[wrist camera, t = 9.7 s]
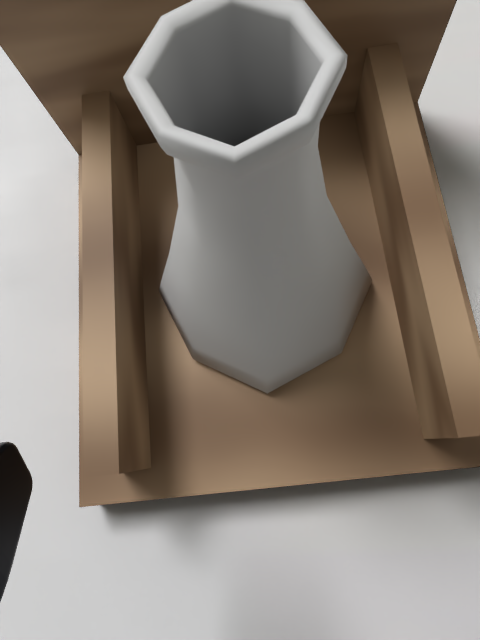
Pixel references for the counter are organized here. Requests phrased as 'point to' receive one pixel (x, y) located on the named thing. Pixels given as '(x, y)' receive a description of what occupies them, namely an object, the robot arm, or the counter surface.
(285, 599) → the counter surface
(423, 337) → the spice stand
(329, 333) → the flask
